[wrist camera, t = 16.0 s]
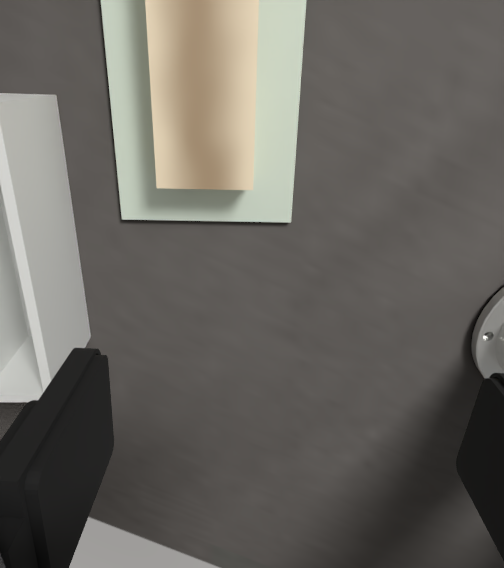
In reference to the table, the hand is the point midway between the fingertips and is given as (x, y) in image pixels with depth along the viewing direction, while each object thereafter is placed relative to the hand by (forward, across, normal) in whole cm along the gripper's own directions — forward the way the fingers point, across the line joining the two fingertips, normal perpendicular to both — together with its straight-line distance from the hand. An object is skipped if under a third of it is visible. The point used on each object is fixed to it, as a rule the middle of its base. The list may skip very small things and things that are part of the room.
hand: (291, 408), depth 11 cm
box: (+22, +16, +3) cm, 28 cm away
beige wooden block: (+22, +5, -11) cm, 25 cm away
